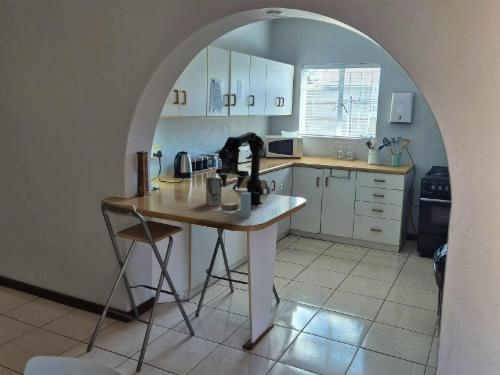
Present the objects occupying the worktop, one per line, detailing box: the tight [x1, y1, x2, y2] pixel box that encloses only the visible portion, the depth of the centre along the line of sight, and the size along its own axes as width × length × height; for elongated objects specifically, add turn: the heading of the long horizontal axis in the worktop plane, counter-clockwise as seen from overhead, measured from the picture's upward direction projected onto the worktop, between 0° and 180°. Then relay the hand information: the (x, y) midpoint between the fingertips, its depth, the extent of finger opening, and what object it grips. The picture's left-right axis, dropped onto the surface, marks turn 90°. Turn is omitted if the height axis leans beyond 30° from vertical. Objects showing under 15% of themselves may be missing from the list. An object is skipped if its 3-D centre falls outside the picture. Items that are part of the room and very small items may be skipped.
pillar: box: [240, 191, 252, 219], centre depth 245 cm, size 4×4×13 cm
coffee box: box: [205, 176, 222, 207], centre depth 273 cm, size 9×6×16 cm
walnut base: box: [213, 202, 241, 215], centre depth 260 cm, size 16×12×4 cm
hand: (231, 187), depth 251 cm, fingers open, 9 cm apart
